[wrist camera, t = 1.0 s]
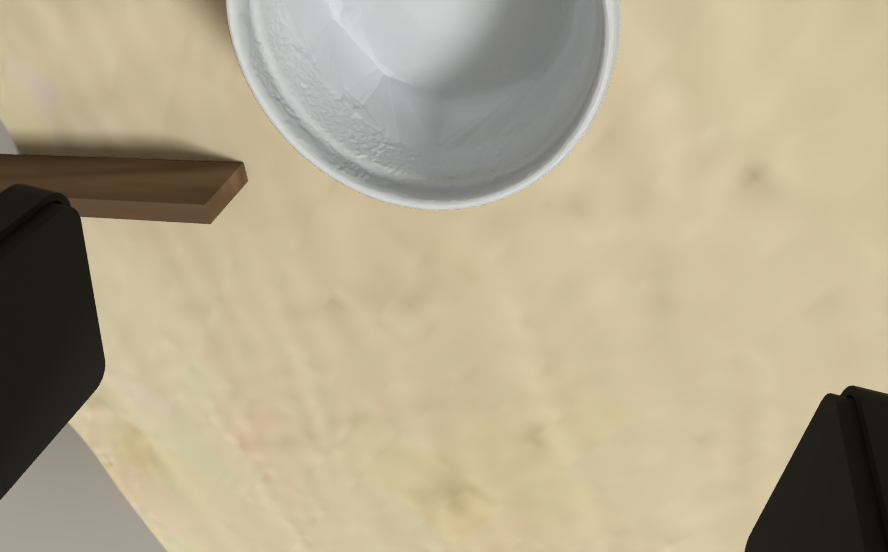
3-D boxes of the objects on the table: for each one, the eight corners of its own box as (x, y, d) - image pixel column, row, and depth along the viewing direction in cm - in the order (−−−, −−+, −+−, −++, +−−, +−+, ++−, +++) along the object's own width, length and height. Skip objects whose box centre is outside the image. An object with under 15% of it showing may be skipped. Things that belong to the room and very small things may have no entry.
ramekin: (603, -268, 27) (577, -249, 22) (654, 107, 34) (644, 192, 28) (251, -163, 32) (158, -126, 26) (359, 149, 38) (303, 229, 33)
